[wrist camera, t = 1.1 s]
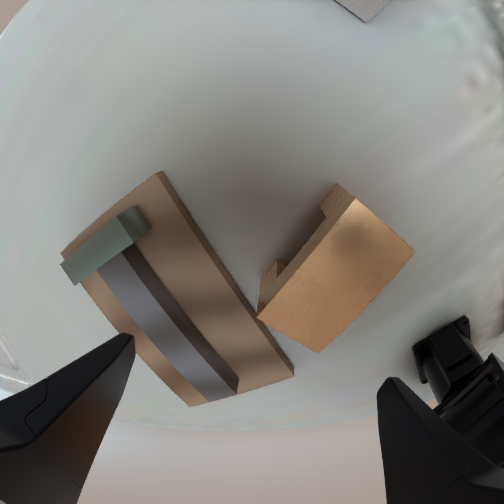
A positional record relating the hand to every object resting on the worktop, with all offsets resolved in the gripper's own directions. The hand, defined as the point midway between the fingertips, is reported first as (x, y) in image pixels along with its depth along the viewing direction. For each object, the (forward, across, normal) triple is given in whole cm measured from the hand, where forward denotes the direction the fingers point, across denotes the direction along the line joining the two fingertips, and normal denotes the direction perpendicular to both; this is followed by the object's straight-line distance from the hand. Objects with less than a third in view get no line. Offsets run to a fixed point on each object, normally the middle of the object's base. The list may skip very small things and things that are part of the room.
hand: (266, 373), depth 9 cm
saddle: (+13, -4, 0) cm, 13 cm away
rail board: (+13, +6, +8) cm, 16 cm away
